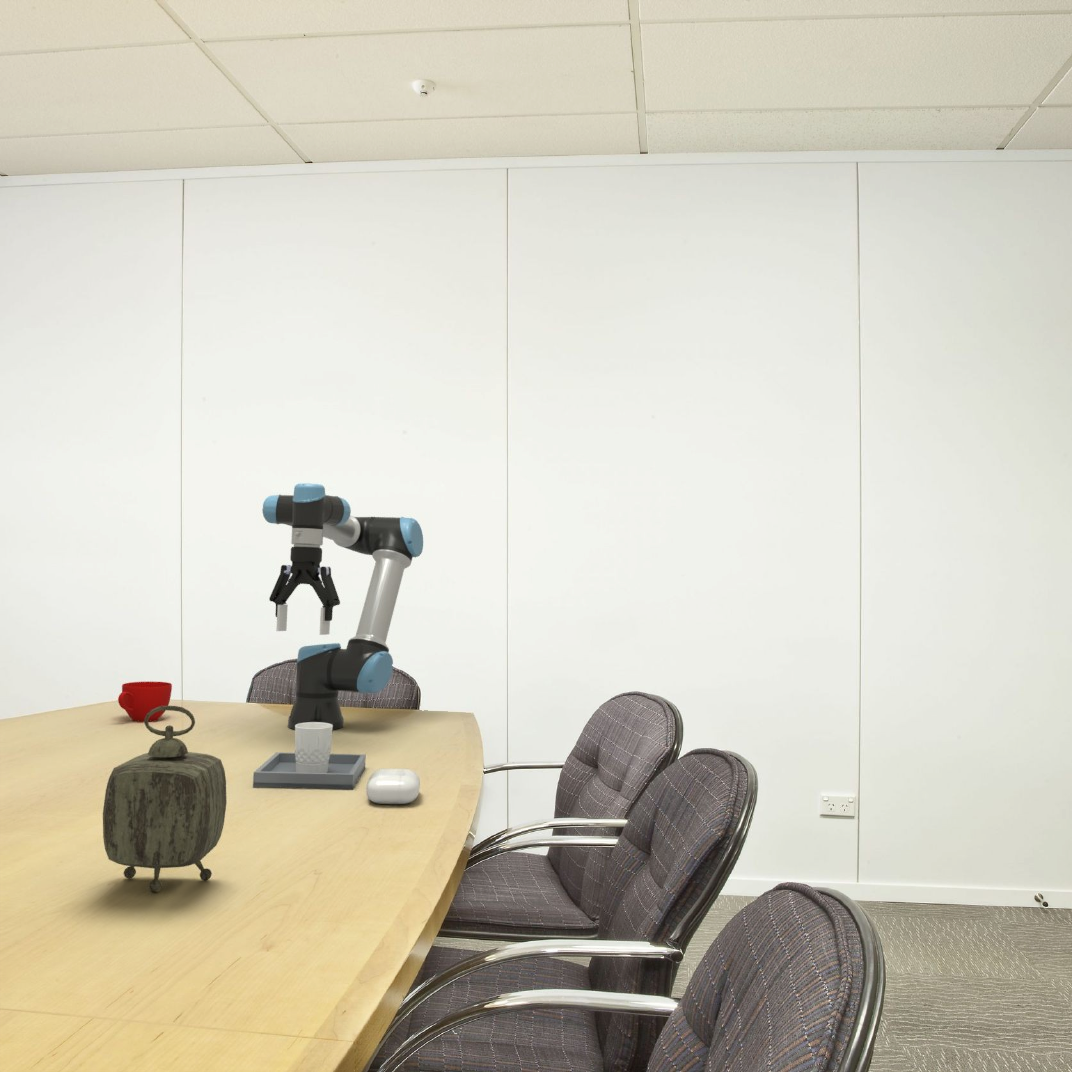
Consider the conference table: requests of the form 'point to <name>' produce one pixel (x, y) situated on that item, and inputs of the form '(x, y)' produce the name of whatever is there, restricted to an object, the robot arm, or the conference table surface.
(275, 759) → the tray
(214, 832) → the tabletop clock
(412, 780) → the earbud case
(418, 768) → the conference table surface
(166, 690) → the ceramic cup
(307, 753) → the white cup
